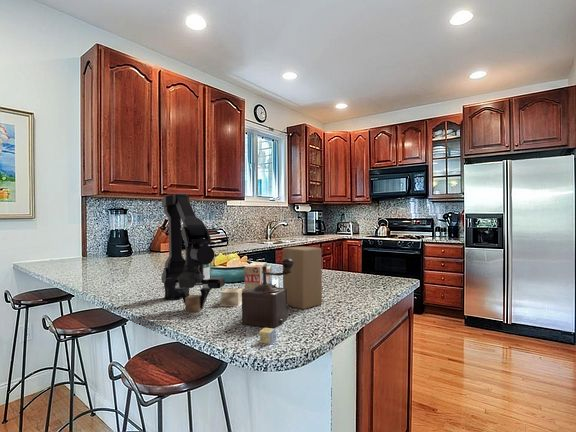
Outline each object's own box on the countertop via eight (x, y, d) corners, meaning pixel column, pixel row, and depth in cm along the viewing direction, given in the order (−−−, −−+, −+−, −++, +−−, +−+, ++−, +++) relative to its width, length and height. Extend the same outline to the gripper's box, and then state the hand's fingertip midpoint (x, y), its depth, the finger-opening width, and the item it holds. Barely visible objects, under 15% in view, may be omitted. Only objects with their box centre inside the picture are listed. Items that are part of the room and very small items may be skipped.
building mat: (202, 310, 112) (202, 309, 112) (215, 299, 127) (215, 298, 127) (240, 311, 111) (240, 309, 111) (249, 300, 126) (249, 298, 126)
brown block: (185, 313, 109) (185, 297, 109) (190, 309, 113) (190, 294, 113) (198, 313, 109) (198, 298, 109) (203, 309, 113) (203, 294, 113)
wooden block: (301, 299, 126) (301, 246, 126) (322, 304, 119) (322, 247, 119) (282, 304, 119) (282, 248, 119) (303, 310, 112) (302, 249, 112)
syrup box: (202, 284, 155) (202, 253, 155) (193, 283, 159) (193, 252, 159) (211, 282, 160) (211, 252, 160) (202, 281, 163) (202, 251, 163)
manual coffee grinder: (275, 329, 93) (274, 264, 93) (240, 324, 97) (240, 262, 97) (296, 314, 107) (296, 257, 107) (265, 311, 111) (265, 256, 111)
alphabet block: (270, 345, 82) (270, 332, 82) (259, 343, 83) (259, 330, 83) (276, 340, 85) (276, 328, 85) (265, 339, 86) (265, 327, 86)
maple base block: (221, 305, 117) (221, 292, 117) (226, 300, 123) (226, 288, 123) (238, 305, 117) (238, 292, 117) (242, 301, 123) (242, 288, 123)
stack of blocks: (258, 286, 151) (258, 259, 151) (272, 287, 150) (271, 259, 150) (244, 297, 130) (244, 266, 130) (260, 298, 129) (259, 266, 129)
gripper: (155, 264, 104) (155, 314, 104) (214, 264, 102) (214, 316, 102) (171, 259, 115) (171, 305, 115) (224, 260, 114) (224, 306, 114)
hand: (194, 308), depth 111 cm, fingers closed on brown block, 5 cm apart
